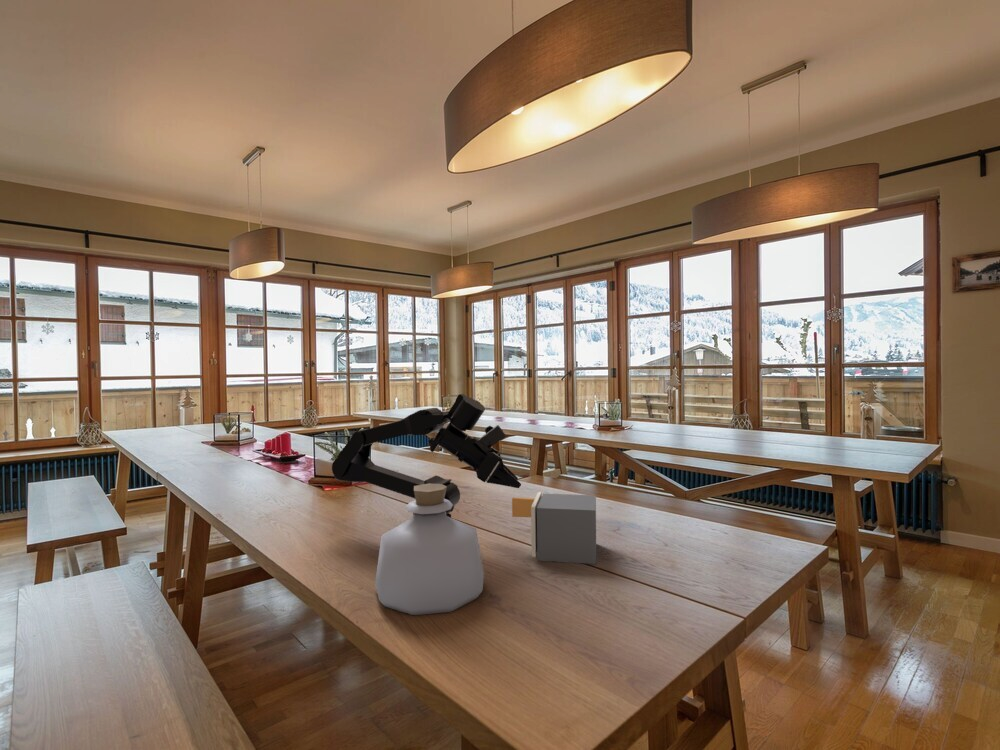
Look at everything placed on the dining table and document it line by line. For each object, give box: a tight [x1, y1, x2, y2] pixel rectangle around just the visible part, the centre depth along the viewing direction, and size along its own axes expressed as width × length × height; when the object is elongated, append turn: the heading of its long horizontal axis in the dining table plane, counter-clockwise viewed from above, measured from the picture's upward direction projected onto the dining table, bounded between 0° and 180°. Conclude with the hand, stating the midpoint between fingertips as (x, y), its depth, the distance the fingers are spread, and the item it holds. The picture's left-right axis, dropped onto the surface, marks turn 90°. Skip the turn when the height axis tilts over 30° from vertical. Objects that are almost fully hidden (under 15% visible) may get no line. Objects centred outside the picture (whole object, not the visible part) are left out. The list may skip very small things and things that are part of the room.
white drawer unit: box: [511, 491, 543, 558], centre depth 109 cm, size 17×13×10 cm
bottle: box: [374, 483, 485, 616], centre depth 91 cm, size 20×20×19 cm
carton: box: [536, 493, 597, 565], centre depth 109 cm, size 12×12×11 cm
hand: (518, 483), depth 114 cm, fingers open, 9 cm apart
